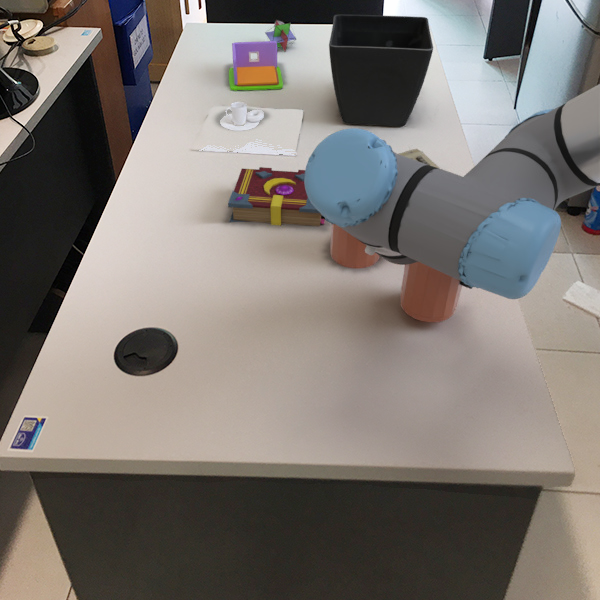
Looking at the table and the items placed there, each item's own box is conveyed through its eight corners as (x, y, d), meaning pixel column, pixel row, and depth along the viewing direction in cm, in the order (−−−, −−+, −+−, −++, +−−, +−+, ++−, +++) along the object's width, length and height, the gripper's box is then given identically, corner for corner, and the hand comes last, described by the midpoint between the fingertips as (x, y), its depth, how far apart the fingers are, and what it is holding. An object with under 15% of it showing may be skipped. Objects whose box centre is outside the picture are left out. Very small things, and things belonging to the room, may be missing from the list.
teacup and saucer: (266, 116, 130) (265, 97, 127) (260, 134, 124) (259, 114, 121) (224, 114, 131) (222, 95, 128) (216, 131, 125) (215, 112, 122)
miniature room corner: (228, 70, 148) (226, 40, 143) (279, 68, 149) (279, 38, 144) (229, 91, 139) (227, 60, 134) (283, 89, 140) (283, 58, 135)
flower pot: (331, 91, 139) (334, 11, 128) (417, 95, 138) (427, 15, 127) (325, 131, 125) (328, 45, 114) (421, 136, 124) (433, 49, 113)
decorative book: (242, 189, 109) (240, 163, 106) (335, 195, 108) (336, 170, 104) (229, 227, 101) (227, 200, 97) (330, 234, 99) (331, 207, 96)
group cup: (384, 271, 93) (393, 202, 85) (335, 276, 92) (339, 206, 84) (373, 241, 98) (380, 174, 90) (326, 245, 97) (329, 177, 89)
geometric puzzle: (303, 44, 154) (294, 11, 153) (278, 49, 152) (268, 15, 151) (292, 54, 161) (283, 23, 160) (268, 59, 159) (258, 27, 157)
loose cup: (464, 319, 81) (483, 245, 73) (408, 325, 80) (421, 250, 72) (446, 282, 87) (461, 209, 79) (393, 287, 86) (404, 214, 78)
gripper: (298, 219, 67) (367, 263, 87) (474, 296, 58) (505, 324, 79) (328, 155, 67) (390, 214, 87) (510, 222, 58) (531, 270, 78)
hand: (444, 266), depth 83 cm, fingers closed on loose cup, 7 cm apart
